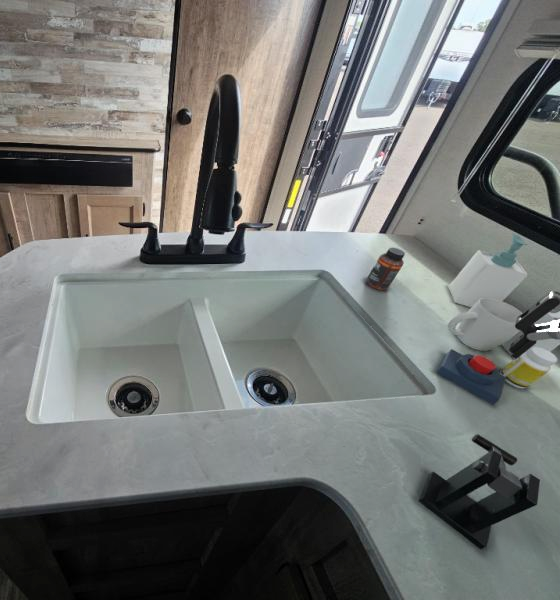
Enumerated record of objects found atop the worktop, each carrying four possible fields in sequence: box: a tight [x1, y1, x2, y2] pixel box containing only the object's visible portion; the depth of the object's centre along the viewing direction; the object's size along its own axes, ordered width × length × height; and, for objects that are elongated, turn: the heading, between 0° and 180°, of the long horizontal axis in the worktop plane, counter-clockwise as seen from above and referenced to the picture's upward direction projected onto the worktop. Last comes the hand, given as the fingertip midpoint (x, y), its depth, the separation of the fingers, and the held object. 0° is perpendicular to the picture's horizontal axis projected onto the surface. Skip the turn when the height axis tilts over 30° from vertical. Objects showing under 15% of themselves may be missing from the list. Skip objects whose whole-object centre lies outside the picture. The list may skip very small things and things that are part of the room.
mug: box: [447, 298, 523, 352], centre depth 76 cm, size 13×9×10 cm
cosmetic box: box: [501, 311, 560, 355], centre depth 74 cm, size 6×4×12 cm
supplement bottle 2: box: [499, 347, 559, 389], centre depth 68 cm, size 5×5×8 cm
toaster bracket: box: [418, 450, 541, 550], centre depth 45 cm, size 6×8×12 cm
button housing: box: [435, 348, 506, 405], centre depth 69 cm, size 8×10×4 cm
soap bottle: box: [448, 232, 529, 308], centre depth 87 cm, size 9×9×19 cm
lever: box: [471, 433, 522, 499], centre depth 46 cm, size 12×5×2 cm, turn 134°
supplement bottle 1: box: [365, 247, 406, 291], centre depth 91 cm, size 6×6×11 cm
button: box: [469, 354, 496, 374], centre depth 67 cm, size 4×4×2 cm
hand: (549, 373), depth 47 cm, fingers open, 8 cm apart
